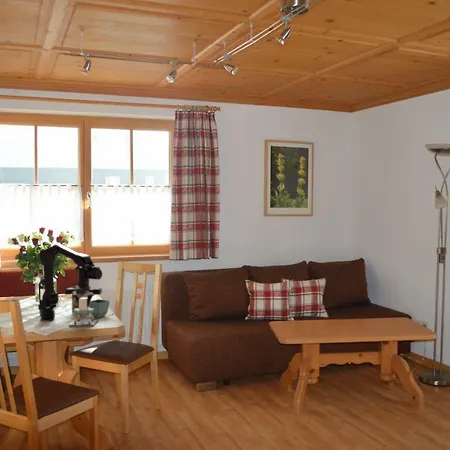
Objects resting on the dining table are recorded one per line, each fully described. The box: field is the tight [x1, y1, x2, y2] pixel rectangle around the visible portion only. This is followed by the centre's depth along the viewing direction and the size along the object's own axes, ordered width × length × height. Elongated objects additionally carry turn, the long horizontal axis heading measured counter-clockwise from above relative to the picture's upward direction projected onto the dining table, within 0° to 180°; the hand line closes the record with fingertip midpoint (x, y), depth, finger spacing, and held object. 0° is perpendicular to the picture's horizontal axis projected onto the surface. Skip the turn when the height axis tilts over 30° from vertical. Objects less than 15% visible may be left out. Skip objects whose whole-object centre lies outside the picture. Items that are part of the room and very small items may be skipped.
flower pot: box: [89, 298, 110, 318], centre depth 318 cm, size 9×9×9 cm
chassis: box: [68, 315, 99, 328], centre depth 299 cm, size 13×13×4 cm
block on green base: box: [73, 297, 94, 313], centre depth 299 cm, size 10×10×7 cm
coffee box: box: [71, 285, 91, 316], centre depth 326 cm, size 9×6×16 cm
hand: (83, 307), depth 299 cm, fingers closed on block on green base, 4 cm apart
